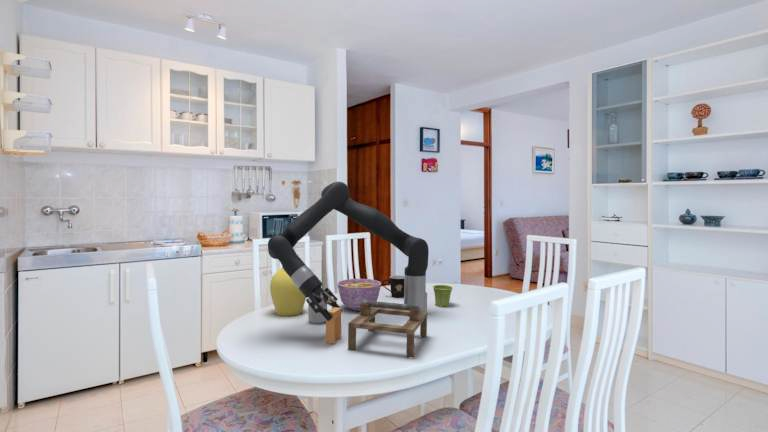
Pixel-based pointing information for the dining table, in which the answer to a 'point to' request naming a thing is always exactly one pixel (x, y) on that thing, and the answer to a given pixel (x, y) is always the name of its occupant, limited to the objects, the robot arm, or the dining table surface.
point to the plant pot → (442, 294)
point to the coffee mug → (396, 286)
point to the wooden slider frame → (368, 320)
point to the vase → (286, 294)
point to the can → (315, 315)
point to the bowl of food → (358, 291)
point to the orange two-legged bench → (333, 326)
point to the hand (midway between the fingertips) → (335, 315)
